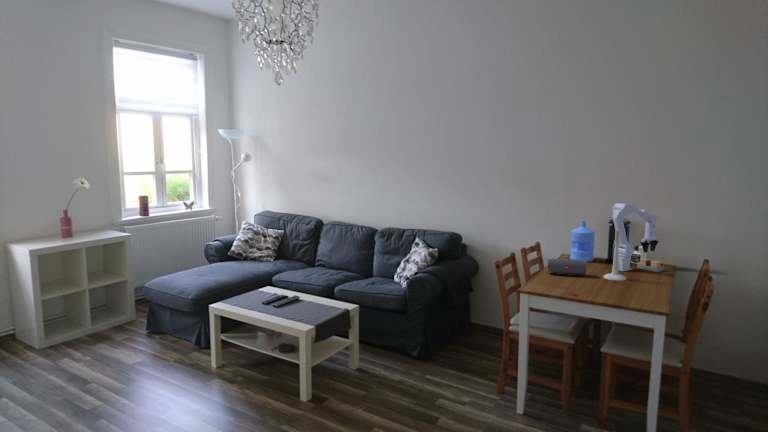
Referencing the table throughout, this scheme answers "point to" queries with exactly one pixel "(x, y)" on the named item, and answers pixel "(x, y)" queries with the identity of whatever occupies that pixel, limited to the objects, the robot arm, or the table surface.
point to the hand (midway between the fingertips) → (648, 251)
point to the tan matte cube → (655, 264)
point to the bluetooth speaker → (567, 266)
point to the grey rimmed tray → (648, 266)
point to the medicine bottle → (638, 255)
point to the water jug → (582, 243)
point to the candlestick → (615, 263)
